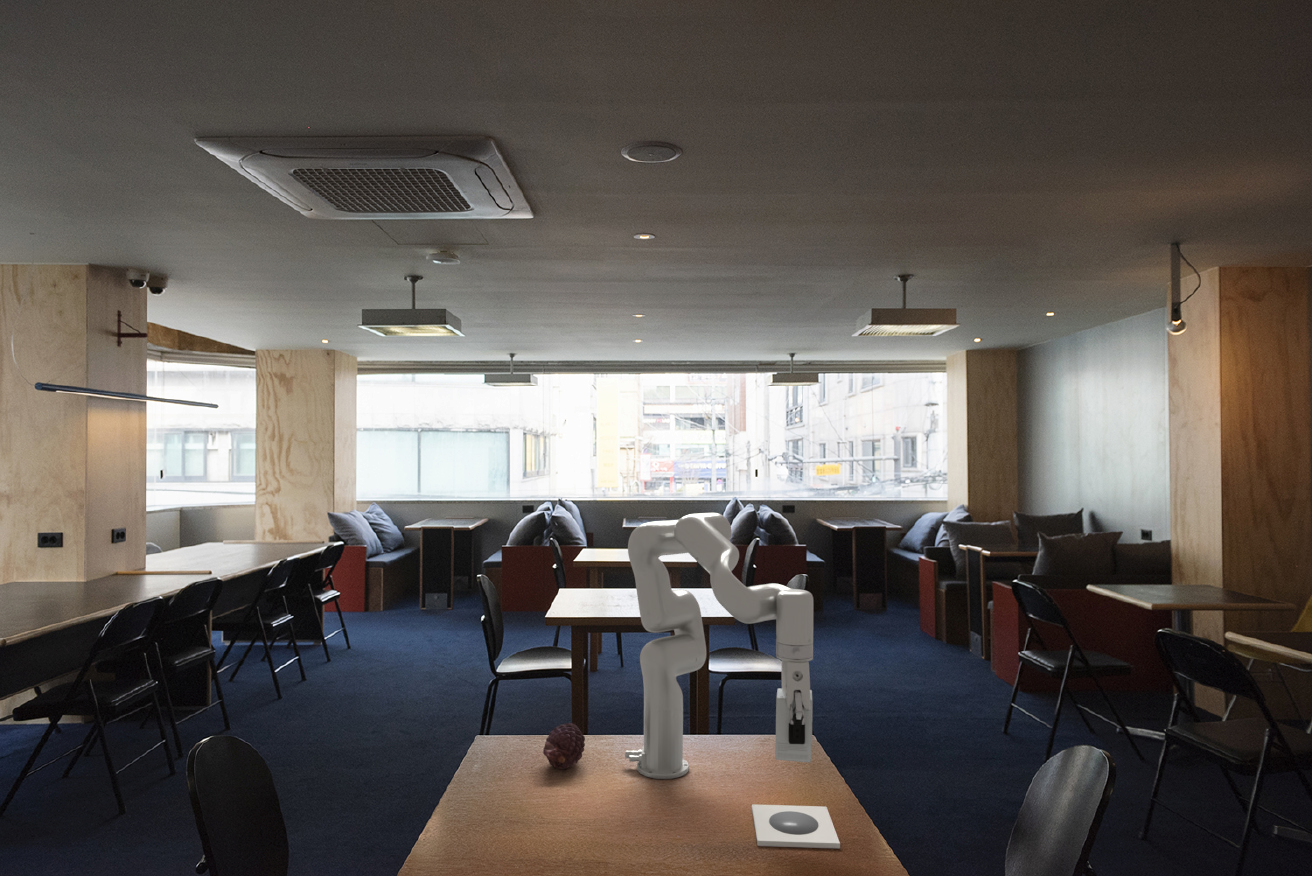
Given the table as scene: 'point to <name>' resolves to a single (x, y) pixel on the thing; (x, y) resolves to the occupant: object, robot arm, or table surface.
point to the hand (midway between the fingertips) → (794, 735)
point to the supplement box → (782, 732)
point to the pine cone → (564, 746)
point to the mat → (794, 826)
